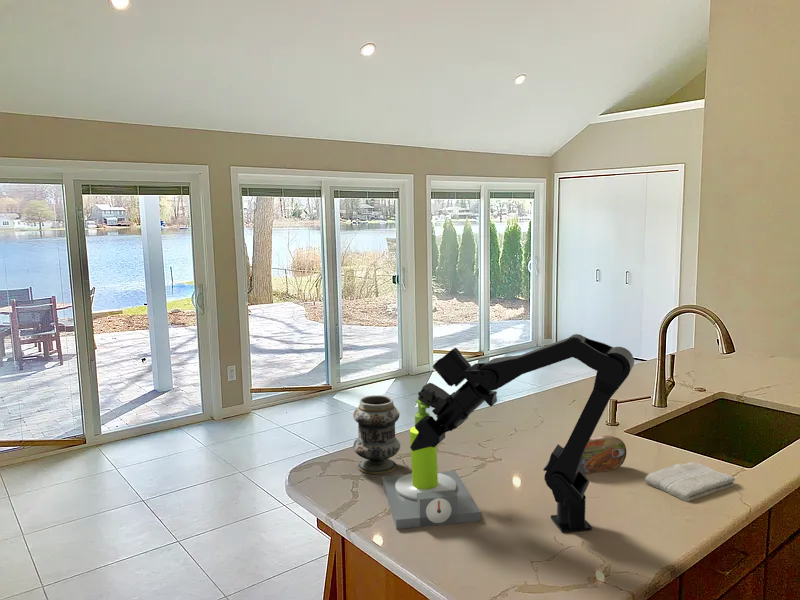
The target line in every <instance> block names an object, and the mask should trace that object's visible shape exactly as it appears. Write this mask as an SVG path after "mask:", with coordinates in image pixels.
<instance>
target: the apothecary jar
mask: <svg viewBox="0 0 800 600" xmlns="http://www.w3.org/2000/svg"><path fill="white" fill-rule="evenodd" d="M352 415H353V416H352V417H353V419H354V421H355V422H356V423H358V427H357V428H358V429H357V431H358V432H357V433H358V434H357V437H356V439H355V440H354V442H353V450H354V452H355V453H356V454H357V455H358V456H359V457H360V458H363V459H364V460H363V461H361V462H360V463H359V464H358V465H357V466H358V467H357V468H358V469H359V470H361V473H365V474H368V473H369V474H368V475H383V474H382V473H384V474H388V473H391V472H392V470H393V471H395V470H396V469H397V468H396V465H397V463H396V462H395V461H394V460H392V459H390V458H393V457H394V456H395V455H397V454H398V452H400V449H401V442H400V440H399V439H398V438H397V437H396V422H398V420H399V419H400V416H401V415H400V410H399V409H398V407H396V406H395V404H394V400H393V398H392V397H390V396H388V395H383V394H382V395H381V394H380V395H379V394H377V395H375V394H373V395H366V396H363V397H361V398H360V400H359V404H358V407H356V408H355V410H354V411H353V413H352ZM390 471H391V472H390ZM387 472H388V473H387Z"/></svg>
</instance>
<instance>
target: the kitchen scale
mask: <svg viewBox="0 0 800 600" xmlns="http://www.w3.org/2000/svg"><path fill="white" fill-rule="evenodd" d="M382 486H383V490H384V493H385V496H386V499H387V503H388V506H389V509H390V512H391V517H392V520H393V522H394V526H395V529H396V530H398V529H399V530H400V529H410V528H418V527H420V528H421V527H430V526H441V525H442V526H443V525H451V524H461V523H462V524H463V523H470V522H471V523H472V522H480V521H481V510H480V509H479V506H477V503H476V502H475V501H474V499H473V497H472V495H471V494H470V493H469V491H468V489H467V487H466V486H465V484H464V483H463V481H462V479H461V477H460V476H459V474H458V472H457V470H446V471H445V470H444V471H438V485H437V486H436V487H434V488H431V489H418V488H415V487H414V486H413V483H412V472H411V473H407V474H399V475H388V476H382Z"/></svg>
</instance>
